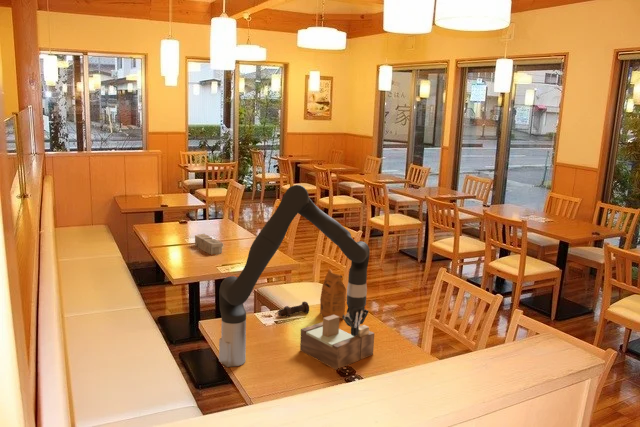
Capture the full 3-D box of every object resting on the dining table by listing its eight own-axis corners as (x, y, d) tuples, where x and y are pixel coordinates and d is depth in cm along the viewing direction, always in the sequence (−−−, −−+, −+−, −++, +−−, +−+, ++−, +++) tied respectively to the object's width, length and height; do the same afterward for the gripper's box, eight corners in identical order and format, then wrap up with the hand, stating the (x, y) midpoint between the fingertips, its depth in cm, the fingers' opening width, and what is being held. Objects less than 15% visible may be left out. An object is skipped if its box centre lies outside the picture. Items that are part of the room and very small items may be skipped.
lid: (331, 349, 207) (332, 327, 205) (306, 336, 217) (306, 315, 216) (354, 340, 215) (355, 319, 213) (329, 328, 226) (329, 308, 224)
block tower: (194, 246, 372) (211, 256, 349) (193, 234, 371) (211, 243, 347) (204, 245, 377) (223, 254, 353) (204, 233, 375) (223, 241, 352)
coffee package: (335, 310, 265) (337, 266, 261) (347, 319, 254) (349, 274, 250) (316, 312, 261) (318, 268, 257) (328, 322, 250) (330, 276, 246)
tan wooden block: (360, 337, 213) (360, 330, 213) (354, 334, 215) (355, 327, 215) (368, 334, 217) (369, 326, 216) (363, 331, 219) (363, 324, 218)
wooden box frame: (336, 369, 206) (337, 347, 204) (300, 350, 221) (300, 329, 219) (373, 354, 220) (374, 333, 218) (337, 336, 235) (338, 316, 233)
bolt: (278, 320, 255) (305, 314, 263) (282, 318, 251) (310, 312, 259) (275, 308, 257) (303, 302, 264) (279, 306, 252) (307, 300, 260)
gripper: (351, 299, 202) (349, 343, 206) (375, 292, 211) (372, 334, 214) (337, 294, 208) (335, 336, 211) (361, 287, 216) (359, 328, 220)
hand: (354, 335), depth 213 cm, fingers closed
